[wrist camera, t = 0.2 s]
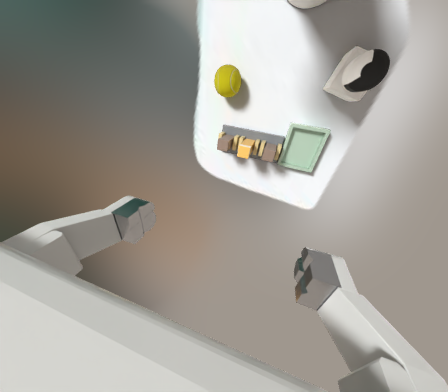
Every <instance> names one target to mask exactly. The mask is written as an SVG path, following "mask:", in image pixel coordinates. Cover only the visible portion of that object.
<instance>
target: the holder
mask: <svg viewBox="0 0 448 392" xmlns="http://www.w3.org/2000/svg"><path fill="white" fill-rule="evenodd" d="M246 138H247V139H251V140H255V145H254V149H253V151H252V153H251V154H250V156H249V157H252V158H256V159H260V160H265V161H269V162H273V163H276V161H277V160H278V157H279V154H280V151H281V148H282V143H283V140H284V136H279V135H274V134H269V133H264V132H259V131H254V130H249V129H244V128H239V127H234V126H229V125H223V130H222V132H221V133H219V138H218V146H217V150H221V151H226V152H230V153H234V154H237V153H238V148H239V145H240V144H241V143H242V142H243V141H244V140H245V139H246Z"/></svg>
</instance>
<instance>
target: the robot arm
mask: <svg viewBox="0 0 448 392" xmlns="http://www.w3.org/2000/svg"><path fill="white" fill-rule="evenodd" d="M288 1H289V2H290V3H291V4H292V5H294V6H296V7H298V8H303V9H307V8H313V7H316V6H318V5H320V4H322V3H324V2H325V1H327V0H288ZM153 210H154V204H153V203H151V202H149V201H145V200H142V199H139V198H135V197H132V196H126V197H124V198H122V199H120V200H119V201H117V202H115V203H114V204H112V205H110V206H108V207H107V208H105V209H103V210H96V211H92V212H87V213H83V214H78V215H74V216H70V217H65V218H61V219H57V220H52V221H48V222H44V223H40V224H38V225H36V226H34V227H32V228H30V229H28V230H26V231H24V232H22V233H20V234H18V235H16V236H14V237H12V238H9V239H8V240H6V241H4V242H1V243H0V392H329V391H327V390H325V389H323V388H320V387H318V386H316V385H314V384H312V383H309V382H307V381H305V380H303V379H300V378H298V377H296V376H294V375H292V374H290V373H287V372H285V371H283V370H281V369H279V368H276V367H274V366H272V365H270V364H267V363H265V362H263V361H261V360H259V359H256V358H254V357H252V356H250V355H248V354H245V353H243V352H241V351H239V350H237V349H234V348H232V347H230V346H228V345H225V344H223V343H221V342H219V341H217V340H215V339H212V338H210V337H208V336H206V335H203V334H201V333H199V332H197V331H195V330H193V329H190V328H188V327H186V326H184V325H181V324H179V323H177V322H175V321H173V320H170V319H168V318H166V317H164V316H162V315H159V314H157V313H155V312H152V311H151V310H148V309H146V308H144V307H142V306H139V305H137V304H135V303H133V302H131V301H128V300H126V299H124V298H122V297H120V296H117V295H115V294H113V293H111V292H108V291H106V290H104V289H102V288H100V287H98V286H95V285H93V284H91V283H88V282H86V281H84V280H82V279H80V278H78V277H76V276H75V275H76V274H77V273H78V272H79V271H81V270H82V267H83V266H82V265H81V263H80V261H79V260H81V259H83V258H85V257H87V256H90V255H92V254H94V253H96V252H98V251H100V250H103V249H104V248H107V247H109V246H111V245H113V244H115V243H118V242H120V241H121V240H124V241H127V242H130V243H133V244H136V243H137V242H138V241H139V240H140V239H141V238H142V237H143V236H144V232H146V231H149V230H150V229H151V228H152V227H153V226H154V224H155V222H156V215H155V213H154V212H153ZM301 254H302V257H301V258H298V259H297V261H296V264H295V268H294V279H295V280H296V282H297V285H296V287H295V295H296V303H299V304H301V305H304V306H307V307H309V308H312V309H314V310H317V313H318V315H319V316H320V318H321V320H322V322H323V323H324V325H325V327H326V329H327V330H328V332H329V334H330V336H331V337H332V339H333V341H334V343H335V344H336V346H337V348H338V350H339V352H340V353H341V355H342V357H343V359H344V360H345V362H346V364H347V366H348V367H349V369H350V371H351V373H349V374H347V375H345V376H343V377H341V378H340V379H339V380H338V385H339V389H340V392H448V386H447V384H446V382H445V380H444V379H443V378H442V377H441V376H440V375H439V374H438V373H437V372H436V371H435V370H434V369H433V368H432V367H431V366H430V365H429V364H428V363H427V362H426V361H425V360H424V359H423V357H422V356H421V355H420V354H419V353H418V352H417V351H416V350H415V349H414V348H413V347H412V346H411V345H410V344H409V343H408V342H407V341H406V340H405V339H404V338H403V337H402V336H401V335H400V334H399V333H398V332H397V330H396V329H395V328H394V327H393V326H392V325H391V324H390V323H389V322H388V321H387V320H386V319H385V318H384V317H383V316H382V315H381V314H380V313H379V312H378V311H377V310H376V309H375V308H374V307H373V306H372V305H371V304H370V303H369V301H368V300H367V299H366V298H365V297H364V296H363V295H360V294H358V292H357V290H356V287H355V285H354V282H353V280H352V277H351V275H350V273H349V270H348V268H347V265H346V263H345V261H344V259H343V258H342V257H339V256H336V255H332V254H327V253H324V252H321V251H317V250H314V249H310V248H307V247H305V248H304V249H303V250H302V252H301Z"/></svg>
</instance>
